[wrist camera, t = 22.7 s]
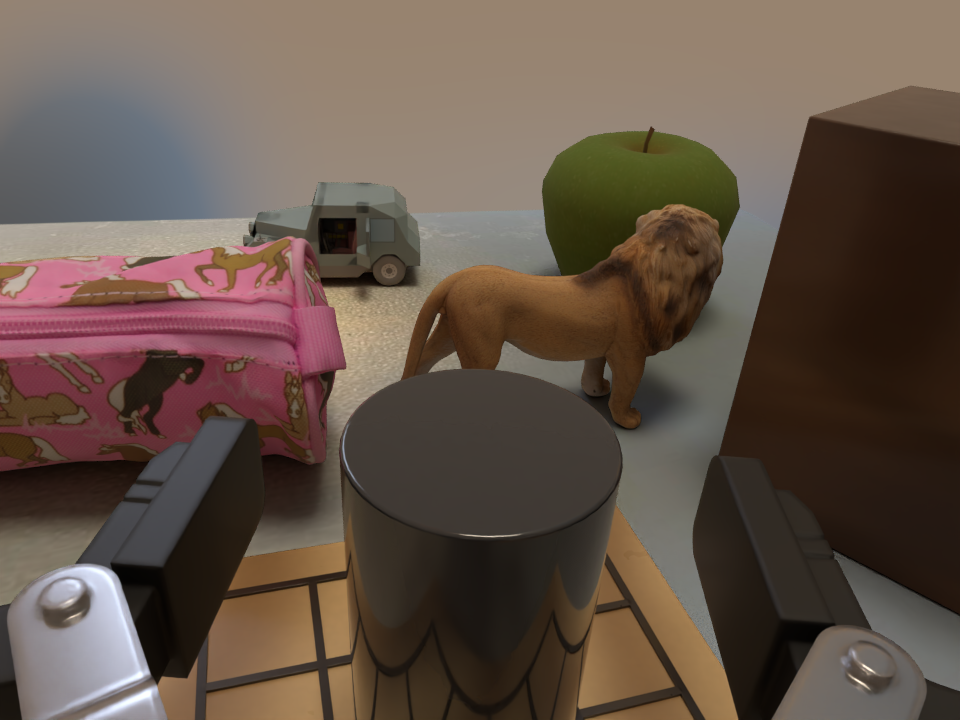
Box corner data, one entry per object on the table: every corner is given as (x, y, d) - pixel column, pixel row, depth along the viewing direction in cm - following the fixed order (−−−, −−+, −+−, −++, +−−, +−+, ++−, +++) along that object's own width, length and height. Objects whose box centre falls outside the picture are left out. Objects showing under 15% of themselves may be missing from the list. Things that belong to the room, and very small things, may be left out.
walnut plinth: (1054, 492, 29) (1257, 137, 22) (1000, 636, 23) (1262, 200, 16) (808, 392, 35) (909, 85, 28) (709, 485, 29) (808, 115, 22)
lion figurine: (657, 361, 37) (692, 186, 33) (716, 420, 33) (766, 227, 28) (366, 395, 33) (361, 199, 28) (389, 467, 29) (387, 250, 24)
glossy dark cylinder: (607, 744, 18) (677, 442, 13) (464, 915, 14) (492, 592, 10) (460, 624, 21) (475, 343, 16) (311, 744, 17) (280, 434, 13)
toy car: (255, 258, 46) (246, 181, 43) (416, 258, 47) (417, 183, 45) (239, 303, 40) (228, 217, 38) (421, 302, 42) (423, 219, 39)
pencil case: (-371, 580, 22) (-566, 316, 18) (-185, 408, 30) (-287, 196, 25) (352, 525, 26) (342, 295, 21) (348, 385, 34) (340, 195, 29)
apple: (573, 251, 50) (592, 97, 45) (730, 289, 45) (770, 124, 40) (500, 310, 41) (513, 128, 36) (685, 362, 37) (728, 165, 32)
